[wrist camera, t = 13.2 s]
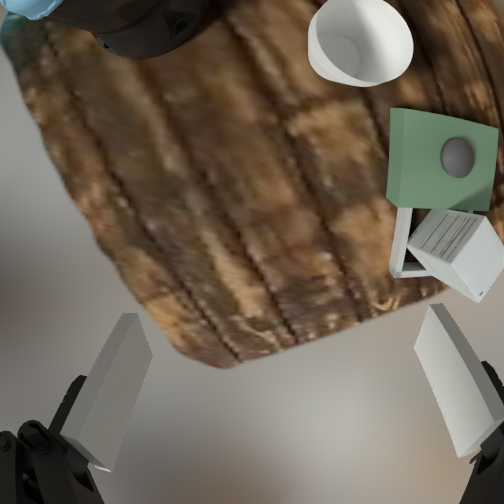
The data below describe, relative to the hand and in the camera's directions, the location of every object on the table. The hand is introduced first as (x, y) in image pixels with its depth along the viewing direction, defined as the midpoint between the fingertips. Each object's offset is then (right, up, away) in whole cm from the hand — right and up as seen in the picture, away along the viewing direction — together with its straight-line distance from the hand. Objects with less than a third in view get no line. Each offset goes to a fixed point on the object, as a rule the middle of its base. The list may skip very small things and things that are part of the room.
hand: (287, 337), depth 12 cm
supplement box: (+24, +5, +25) cm, 35 cm away
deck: (+24, +12, +23) cm, 35 cm away
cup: (+8, +27, +16) cm, 32 cm away
